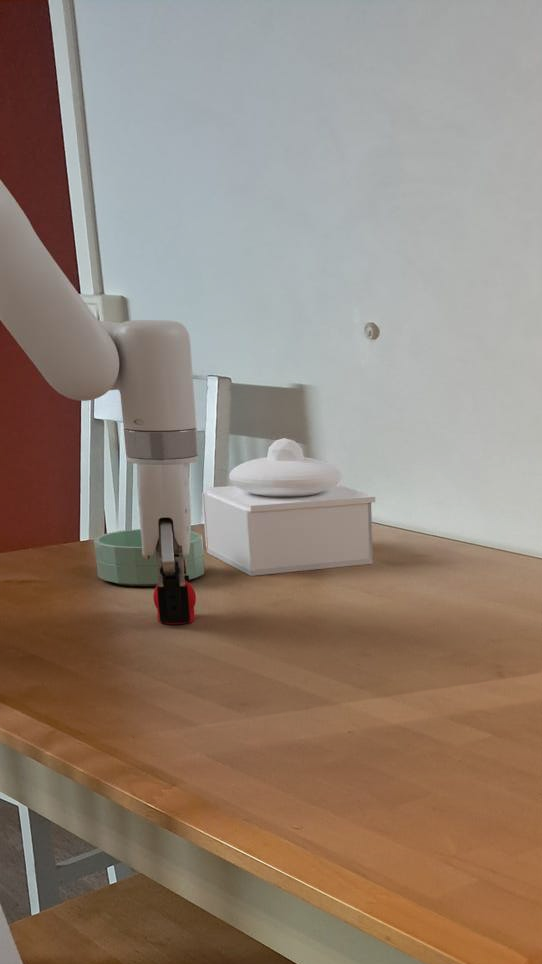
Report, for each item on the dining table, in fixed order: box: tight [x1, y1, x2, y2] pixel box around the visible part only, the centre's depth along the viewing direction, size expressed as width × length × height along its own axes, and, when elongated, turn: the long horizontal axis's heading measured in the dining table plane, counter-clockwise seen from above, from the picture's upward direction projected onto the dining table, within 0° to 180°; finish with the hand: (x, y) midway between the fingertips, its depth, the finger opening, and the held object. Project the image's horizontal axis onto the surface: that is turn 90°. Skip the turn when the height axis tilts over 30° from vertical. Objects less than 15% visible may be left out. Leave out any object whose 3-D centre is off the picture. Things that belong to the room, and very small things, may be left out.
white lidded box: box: [201, 437, 376, 577], centre depth 172 cm, size 18×18×16 cm
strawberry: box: [152, 580, 197, 625], centre depth 141 cm, size 5×5×5 cm
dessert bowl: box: [93, 528, 206, 587], centre depth 162 cm, size 13×13×5 cm
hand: (176, 614), depth 142 cm, fingers closed on strawberry, 4 cm apart
